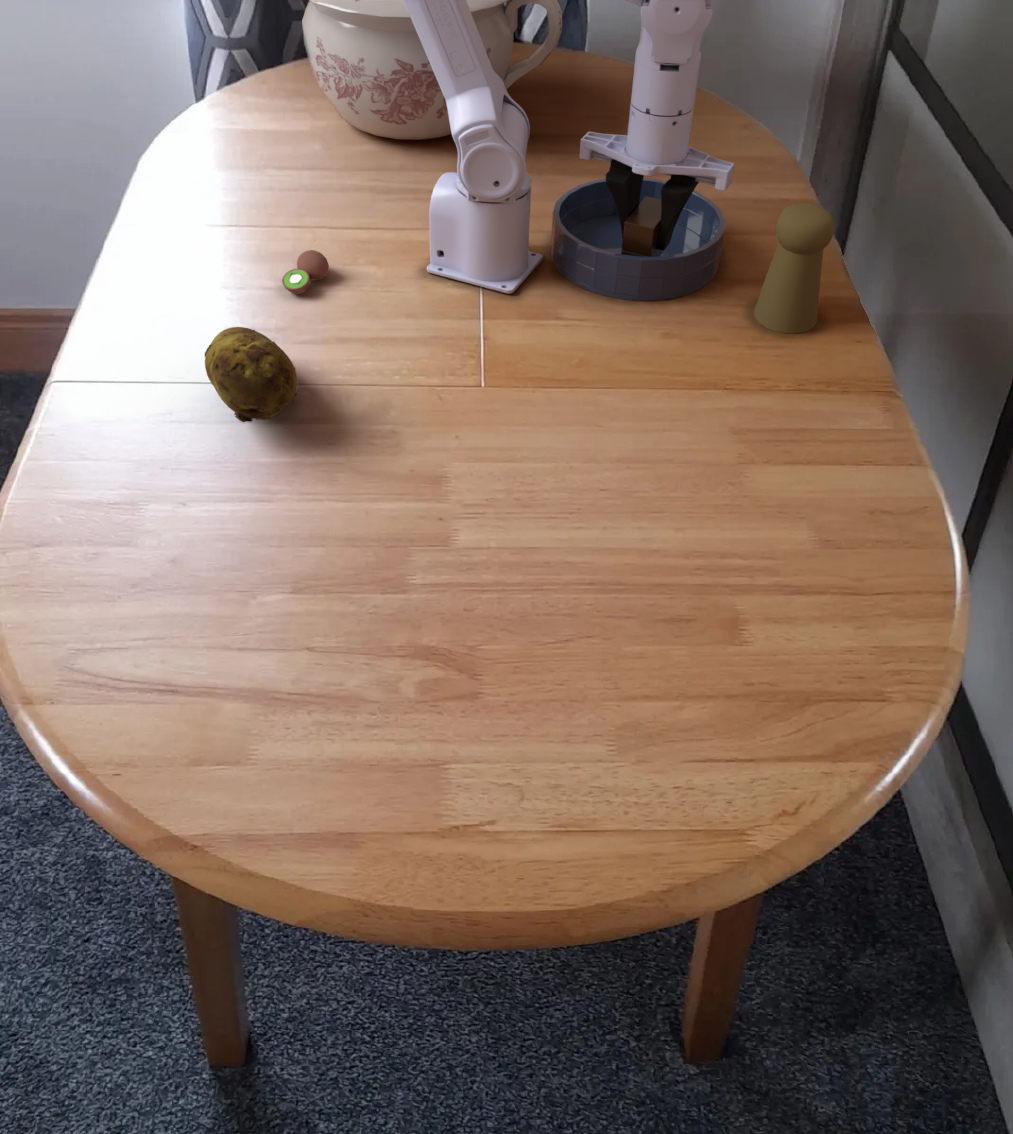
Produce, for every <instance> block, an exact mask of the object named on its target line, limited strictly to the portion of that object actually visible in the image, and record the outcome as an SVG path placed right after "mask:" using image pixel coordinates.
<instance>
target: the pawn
mask: <svg viewBox="0 0 1013 1134" xmlns="http://www.w3.org/2000/svg"><path fill="white" fill-rule="evenodd" d="M834 233H835V221H834V218H833V215H832V214H831V212H830V211H829V210H827V209H826V208H824V207H823V206H819V205H817V204H815V203H814V204H813V203H805V202H804V203H803V202H800V203H795V204H791V205H788V206H786V207H785V208H784V209H783V210H781V212H780V214H779V216H778V217H777V220H776V224H775V235H776V239H777V241H778V242H777V246H776V248H775V251H774V255H773V257H772V259H771V263H770V265H769V268H768V270H767V274H766V277H765V279H764V282H763V285H762V288H761V290H760V293H759V296H758V299H757V302H756V305H755V307H754V310H753V316H754V319H755V320H756V321H757V322H758V324H760V325H761V326H762V327H764V328H766V329H768V330H771V331H773V332H776V333H777V332H778V333H781V334H801V333H805V332H808V331H811V329H814V327H816V324H817V320H818V313H819V311H818V310H819V301H820V291H821V280H822V269H823V257H824V249H826V248H827V246H829V245H830V243H831V242H832V239H833V236H834Z"/></svg>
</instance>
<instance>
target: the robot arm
mask: <svg viewBox="0 0 1013 1134" xmlns="http://www.w3.org/2000/svg"><path fill="white" fill-rule="evenodd" d="M625 1H627V2H629V3H631V4H634V5H636V6H637V7H640V19H641V24H640V34H639V43H638V45H637V47H636V50H635V56H634V66H633V77H632V84H631V85H632V86H631V95H630V105H629V114H628V115H629V116H628V124H627V125H628V126H627V134H614V133H613V134H612V133H600V132H594V131H588V132H587V133H585V134H584V136H582V138H580V142H579V143H580V144H579V157H578V158H579V160H584V161H590V160H592V159H595V160H600V161H603V162H609V163H610V166H609V170H608V171H607V172H606V174H605V179H606V184H607V186H608V188H609V190H610V192H611V194H612V196H613V199H614V201H615V204H616V207H617V210H618V214H619V219H620V224H621V230H622V240H623V232H624V222H625V221H626V220H627V218H628V217H629V216H630V215H631V214H632V212H633V211H634V210H635V209H636V208H637V206H638V205H639V200H640V194H641V188H642V183H643V178H645V177H652V176H655V174H660V175H666V176H669V179H668V180H666V181H667V182H666V183H665V185H664V186H663V187H662V188H661V223H660V228H659V234H658V242H657V249H658V250H662V251H664V250H665V249H666V247H667V246H668V245H669V243H670V241H671V237H672V234H673V231H674V228H675V225H676V223H677V220H678V218H679V216H680V214H681V212H682V210H683V208H684V206H685V204H686V202H687V201H688V199H689V197H690V196H691V194H692V192H693V191H694V190H695V189H696V187H697V186H698V184H699V183H702V184H706V185H710V186H714V189H715V190H718V191H722V192H726V191H727V190H728V189H729V187H730V186H731V184H732V182H733V175H734V172H735V171H734V170H735V163H734V162H730V161H727V160H724V159H720V158H717V157H715V156H714V155H710V154H708V153H706V152H703V151H700V150H698V149H696V148H693V147H691V146H690V139H691V130H692V125H693V124H692V123H693V117H694V111H695V103H696V96H697V90H698V89H697V88H698V81H699V75H700V74H699V73H700V66H701V61H702V53H701V50H700V49H701V46H702V43H703V39H704V32H705V31H706V29H708V27H709V25H710V22H711V20H712V17H713V13H714V10H713V9H712V0H625ZM404 3H405V5H406V8H407V10H408V12H409V15H410V17H411V19H412V22H413V24H414V26H415V29H416V31H417V34H418V36H419V38H420V41H421V43H422V45H423V48H424V50H425V53H426V55H427V57H428V60H429V62H430V64H431V67H432V69H433V72H434V74H435V76H436V79H437V81H438V83H439V86H440V88H441V90H442V93H443V95H444V98H445V100H446V104H447V110H448V116H449V122H450V128H451V133H452V134H451V137H452V139H453V142H454V144H455V146H456V151H457V163H456V170H457V171H456V172H454V171H446V172H444V173H442V174H441V176H440V177H439V178H438V179H437V181H436V183H435V185H434V187H433V190H432V192H431V197H430V201H429V210H428V222H429V223H428V224H429V226H428V227H429V264H428V265H427V266H426V271H427V273H429V274H433V275H437V276H441V277H445V278H448V279H452V280H456V281H459V282H463V283H466V284H470V285H474V286H478V287H481V288H485V289H488V290H492V291H496V292H499V293H504V294H507V295H510V294H513V293H514V292H515V291H516V290H517V289H518V288H519V287H520V285H521V284H522V283H523V282H524V281H525V280H526V279H527V278H528V276H529V275H530V274H531V273H532V272H533V271H534V270H535V269H536V268H537V267H538V265H540V264H541V262H542V261H543V259H544V255H543V254H541V253H538V252H533V251H530V250H529V249H530V247H529V244H530V224H531V223H530V222H531V201H532V200H531V199H532V177H531V176H530V174H529V173H528V172H527V162H526V160H527V159H526V158H527V148H528V143H529V138H530V134H531V126H530V120H529V118H528V115H527V113H526V112H525V110H524V109H523V107H521V106H520V105H519V103H517V102H516V101H515V100H514V99H513V98H512V97H511V96H510V94H509V93H508V89H507V90H506V88H505V85H504V83H503V81H502V79H501V78H500V77H499V76H498V75H497V74H496V73H495V72H494V70H493V68H492V66H491V63H490V61H489V58H488V56H487V53H486V50H485V48H484V45H483V43H482V40H481V37H480V35H479V32H478V30H477V27H476V25H475V22H474V19H473V17H472V14H471V12H470V9H469V7H468V4H467V1H466V0H404Z"/></svg>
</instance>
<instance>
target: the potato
mask: <svg viewBox="0 0 1013 1134" xmlns="http://www.w3.org/2000/svg"><path fill="white" fill-rule="evenodd" d="M204 368H205V372H206V376H207V378H208V380H209V382H210V384H211V385H212V386H213V388H214V389H215V391H216V393H217V395H218V396H219V398H220V400H221V401H222V402H223V403H224V405H225V406H227V408H228V409H230V410H231V411H233V415H234V417H235V418H236V419H237V420H239V421H241V423H245V422H246V423H251V422H252V421H253V420H256V421H257V420H259V421H260V420H261V421H262V420H263V421H264V420H265V421H266V420H271V418H272V417H274V416H276V415H277V414H279V413H280V412H282V411H283V410H284V409H285V408H286V407H287V406H288V405H289V404H290V403H292V402H293V401H294V400H295V398H297V389H298V374H297V370H296V367H295V365H294V364H293V361H292V360H291V358H290V357H289V355H288V354H286V352H285V351H284V350H283V349H282V348H281V347H280V346H279V345H278V344H277V343H276V342H275V341H274V340H273V341H272V340H271V339H270V338H269V337H268V336H266V335H264V334H263V333H261V332H258V331H257V330H255V329H252V328H248V327H245V326H232V327H228V328H225V329H223V330H222V331H220V332H219V333H218V334H216V336H215V337H214V338H213V339H212V341H211V343H210V344H208V346H207V348H206V350H205V351H204Z"/></svg>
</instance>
